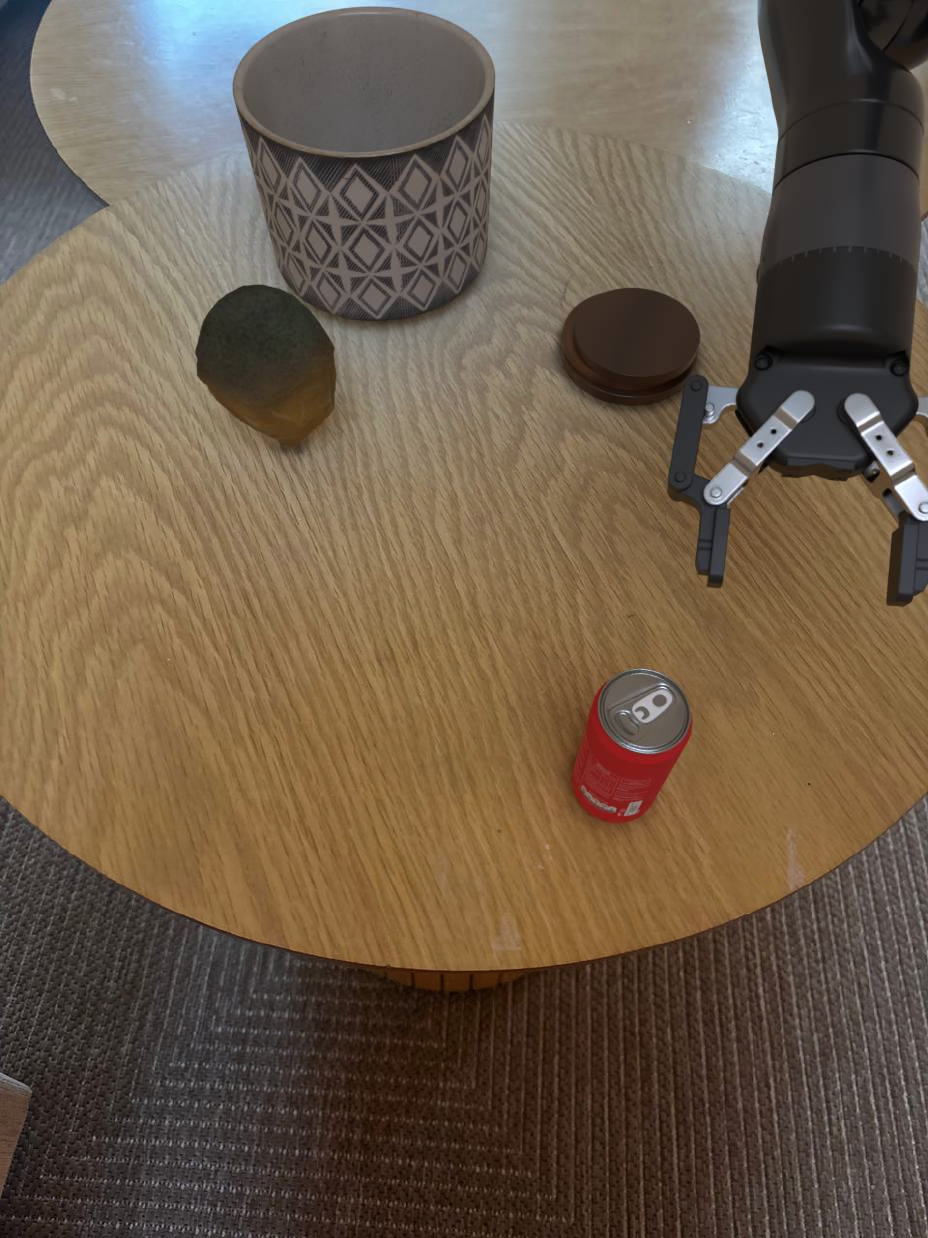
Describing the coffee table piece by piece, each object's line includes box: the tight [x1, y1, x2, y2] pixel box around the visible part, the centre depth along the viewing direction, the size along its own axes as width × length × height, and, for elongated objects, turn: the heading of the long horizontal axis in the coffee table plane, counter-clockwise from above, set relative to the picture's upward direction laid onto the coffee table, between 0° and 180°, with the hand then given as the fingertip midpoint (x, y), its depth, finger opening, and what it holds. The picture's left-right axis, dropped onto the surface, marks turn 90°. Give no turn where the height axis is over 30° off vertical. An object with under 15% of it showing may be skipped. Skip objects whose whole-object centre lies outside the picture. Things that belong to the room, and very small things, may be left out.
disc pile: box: [561, 287, 701, 406], centre depth 72 cm, size 11×11×3 cm
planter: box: [231, 5, 496, 322], centre depth 72 cm, size 19×19×16 cm
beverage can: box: [571, 667, 693, 824], centre depth 50 cm, size 5×5×12 cm
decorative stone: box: [194, 284, 337, 447], centre depth 62 cm, size 10×6×15 cm, turn 95°
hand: (805, 594), depth 43 cm, fingers open, 8 cm apart
